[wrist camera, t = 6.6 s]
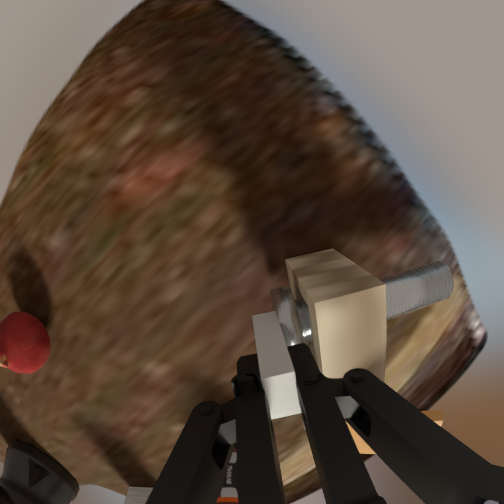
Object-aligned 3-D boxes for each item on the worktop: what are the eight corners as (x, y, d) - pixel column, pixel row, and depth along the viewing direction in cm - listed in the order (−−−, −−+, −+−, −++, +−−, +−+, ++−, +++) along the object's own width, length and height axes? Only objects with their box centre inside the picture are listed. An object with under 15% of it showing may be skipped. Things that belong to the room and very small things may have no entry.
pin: (278, 339, 22) (289, 378, 17) (267, 279, 20) (276, 308, 16) (424, 297, 22) (458, 320, 17) (424, 242, 21) (463, 256, 16)
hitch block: (304, 378, 25) (328, 447, 17) (284, 259, 23) (314, 303, 14) (343, 367, 25) (379, 430, 17) (332, 248, 23) (385, 284, 14)
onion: (44, 357, 24) (7, 397, 16) (15, 313, 23) (-29, 345, 15) (73, 339, 23) (32, 384, 16) (40, 290, 22) (-10, 324, 14)
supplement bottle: (216, 439, 27) (212, 523, 16) (263, 451, 28) (273, 530, 17) (198, 463, 28) (191, 537, 17) (241, 474, 29) (245, 544, 18)
